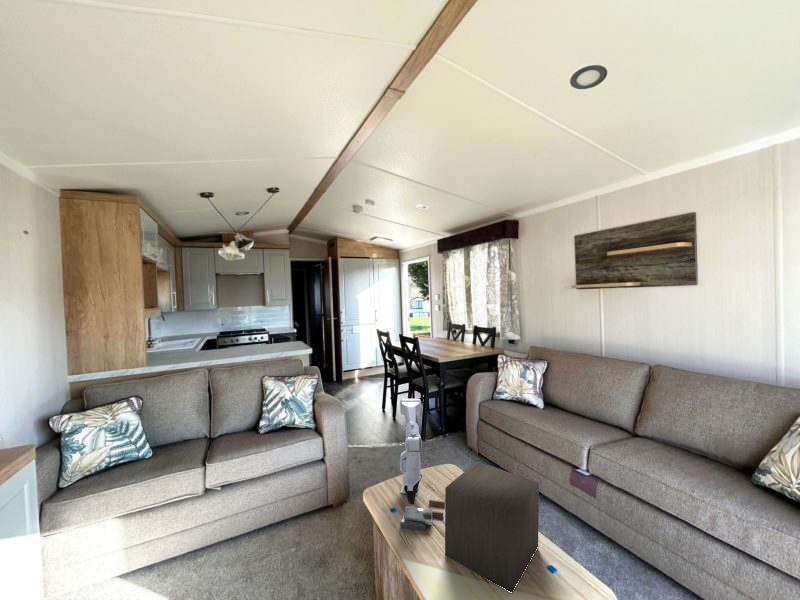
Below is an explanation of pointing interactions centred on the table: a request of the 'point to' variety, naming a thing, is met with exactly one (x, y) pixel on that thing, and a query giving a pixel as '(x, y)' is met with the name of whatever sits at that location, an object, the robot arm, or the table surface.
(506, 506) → the wood block
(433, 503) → the brown piece
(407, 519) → the grey metal cylinder
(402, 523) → the cradle
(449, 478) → the table surface
